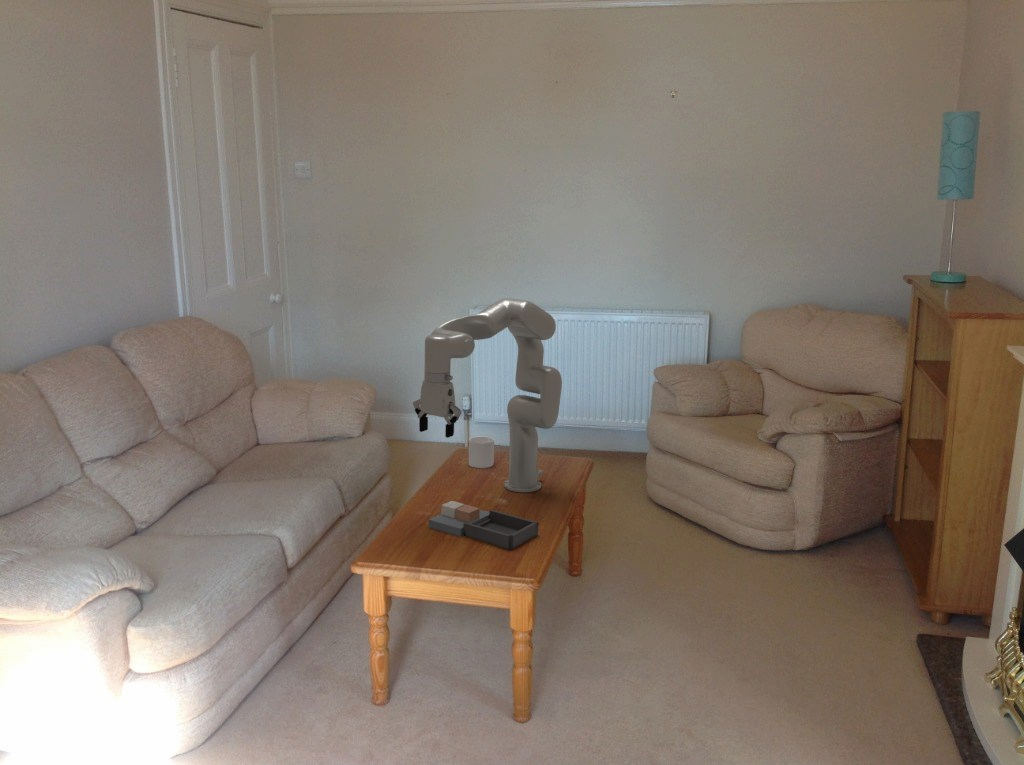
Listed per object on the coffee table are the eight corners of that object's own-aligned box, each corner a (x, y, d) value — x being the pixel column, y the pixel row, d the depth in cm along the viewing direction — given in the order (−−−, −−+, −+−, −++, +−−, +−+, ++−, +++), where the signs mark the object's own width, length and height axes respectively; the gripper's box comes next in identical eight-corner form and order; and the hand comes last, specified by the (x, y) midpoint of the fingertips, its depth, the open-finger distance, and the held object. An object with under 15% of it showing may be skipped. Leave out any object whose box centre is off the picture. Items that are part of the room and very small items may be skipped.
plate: (461, 512, 302) (461, 504, 301) (492, 520, 295) (492, 513, 294) (428, 527, 289) (428, 519, 288) (460, 536, 282) (460, 528, 282)
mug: (492, 469, 344) (492, 444, 341) (466, 467, 344) (467, 442, 342) (495, 458, 355) (496, 434, 353) (471, 457, 356) (471, 433, 354)
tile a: (451, 509, 296) (451, 500, 296) (464, 513, 294) (464, 504, 293) (441, 514, 292) (441, 505, 292) (454, 518, 290) (454, 508, 289)
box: (491, 521, 294) (491, 509, 293) (537, 535, 285) (538, 522, 284) (463, 535, 283) (463, 523, 282) (510, 550, 273) (511, 536, 273)
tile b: (466, 513, 293) (466, 504, 293) (479, 517, 291) (479, 508, 290) (456, 518, 289) (456, 509, 289) (469, 522, 286) (469, 513, 286)
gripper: (468, 379, 279) (467, 436, 283) (422, 371, 289) (421, 426, 292) (453, 383, 273) (452, 441, 277) (406, 374, 283) (405, 431, 286)
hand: (436, 433), depth 285 cm, fingers open, 9 cm apart
